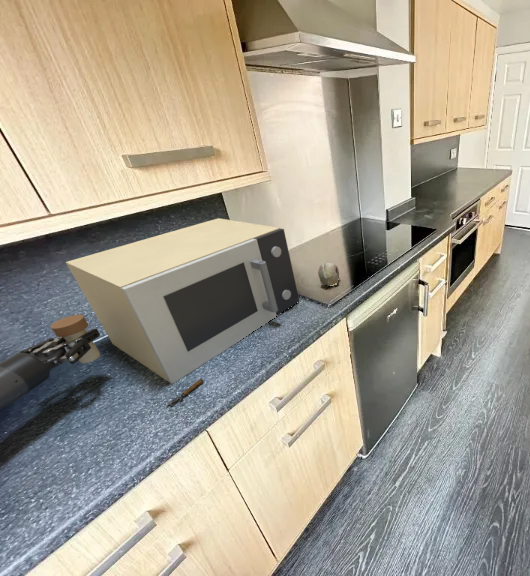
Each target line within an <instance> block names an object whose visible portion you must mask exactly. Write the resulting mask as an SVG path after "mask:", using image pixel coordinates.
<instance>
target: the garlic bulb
mask: <svg viewBox="0 0 530 576" xmlns="http://www.w3.org/2000/svg"><path fill="white" fill-rule="evenodd" d="M317 275H318V278H319V283H320V285H321V286H325V285H327V286H326V287H328V286H330V285H333V284H335V283H338V284H339V282H338V279H339V280H340V270H339V268H338V265H336V264H335V263H333V262H328V261H323V262H322V263H321V264H320V266H319V268H318V271H317Z"/></svg>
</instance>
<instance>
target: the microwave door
mask: <svg viewBox="0 0 530 576" xmlns="http://www.w3.org/2000/svg"><path fill="white" fill-rule="evenodd" d="M121 289H122V291H123V293H124V295H125V297H126V299H127V301H128V303H129V305H130V307H131V309H132V310H133V312H134V314H135V316H136V318H137V320H138V322H139V324H140V326H141V328H142V330H143V332H144V334H145V336H146V338H147V340H148V342H149V344H150V346H151V348H152V350H153V352H154V354H155V356H156V358H157V360H158V362H159V364H160V365H161V367H162V369H163V371H164V373H165V375H166V377H167V379H168V381H169V382H168V381H167V382H168V383H170V384H171V385H173V384H174V383H176V382H178V381H179V380H181V379H182V378H184V377H186V376H187V375H189V374H190V373H192V372H194V371H195V370H196V369H198V368H200V367H202V366H203V365H205V364H206V363H208V362H209V361H211V360H213V359H214V358H216V357H217V356H218V355H220V354H221V353H223V352H225V351H227V350H229V349H230V348H231V347H233V346H234V345H236V344H238V343H239V342H240V340H241V341H242V340H244V339H245V338H247V337H248V335H249V334H250V335H252V334H253V333H254V332H253V331H255V330H256V329H258V328H260V327H261V326H263V325H264V324H266V323H267V322H269V321H270V320H272V319H273V318H275V317H276V316H277V315H276V312H277V311H278V308H277V304H276V300H275V296H274V292H273V288H272V284H271V280H270V277H269V273H268V269H267V265H266V262H265V261H262V258H261V254H260V250H259V246H258V242H257V239H251V240H248V241H246V242H243V243H240V244H238V245H235V246H232V247H230V248H227V249H224V250H221V251H219V252H216V253H213V254H211V255H208V256H205V257H203V258H200V259H197V260H195V261H192V262H189V263H187V264H184V265H181V266H178V267H176V268H173V269H170V270H168V271H165V272H162V273H160V274H157V275H154V276H152V277H149V278H146V279H143V280H141V281H138V282H135V283H133V284H130V285H127V286H125V287H122V288H121ZM277 317H278V316H277ZM275 319H276V318H275ZM272 321H273V320H272ZM269 323H270V322H269ZM267 324H268V323H267ZM267 324H266V325H267ZM264 326H265V325H264ZM264 326H263V327H264ZM261 328H262V327H261ZM261 328H260V329H261ZM258 330H259V329H258ZM256 331H257V330H256ZM256 331H255V332H256ZM252 332H253V333H252ZM251 333H252V334H251ZM250 335H249V336H250ZM246 336H247V337H246ZM243 338H244V339H243ZM237 342H238V343H237Z"/></svg>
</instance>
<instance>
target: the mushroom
mask: <svg viewBox="0 0 530 576" xmlns="http://www.w3.org/2000/svg"><path fill="white" fill-rule="evenodd" d="M88 326H89V323H88V321H87V319H86V318H85V316H84V315H83V314H74V315H69V316H66V317H63V318H60V319H58V320H56V321H54V322H53V323H52V324H50V329H51V330H52V332H53V333H54V335H55V336H56V338H58V337H64V339H65V340H66V342H71V341H73V340H75V339H77V338H79V337H80V336H82V335H84V334H85V333H87V332H88V331H87V328H88ZM76 344H77V343H76ZM76 344H74V345H73V347H74V346H75V345H76ZM89 345H90V347H91V349H90V350H89V351H88V352H87V353H86V354H85V355H84V356H83V357H82V358H81V359H80V360H79V361H78V362H79V363H80V364H88V363H91V362H94V361H96V360H97V359H99V358H100V357H101V353H100V352H101V351H99V349H98V347H97V345H96V344H95V342H94V340H93V341H91V342H90V343H89Z"/></svg>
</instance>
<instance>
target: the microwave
mask: <svg viewBox="0 0 530 576" xmlns="http://www.w3.org/2000/svg"><path fill="white" fill-rule="evenodd" d="M251 239H257V242H258V246H259V250H260V254H261V258H262V261H265V262H266V265H267V269H268V273H269V277H270V280H271V284H272V288H273V292H274V296H275V300H276V304H277V308H278V311H277V312H276V315H279V314H280V313H282V312H283V311H285V310H286V309H288V308H290V307H291V306H293V305H294V304H296V303H297V302H300V297H299V293H298V288H297V284H296V279H295V274H294V270H293V265H292V261H291V256H290V251H289V246H288V242H287V238H286V233H285V229H284V228H281V227H277V226H270V225H265V224H257V223H251V222H245V221H239V220H231V219H226V218H220V217H219V218H214V219H211V220H208V221H204V222H200V223H197V224H194V225H190V226H187V227H183V228H180V229H176V230H173V231H169V232H166V233H162V234H159V235H155V236H151V237H147V238H145V239H141V240H137V241H134V242H131V243H126V244H123V245H120V246H117V247H112V248H110V249H106V250H102V251H100V252H96V253H93V254H88V255H86V256H82V257H78V258H75V259H72V260H68V261H65V264H66V265H67V267H68V269H69V271H70V273H71V274H72V276H73V278H74V279H75V281H76V284H78V287H79V288H80V291H82V294H83V295H84V297H85V298H86V300H87V302H88V304H89V306H90V308H91V309H92V311H93V313H94V314H95V316H96V318H97V319H98V321H99V323H100V325H101V326H102V328H103V330H104V332H105V333H106V335H107V337H108V338H109V340H110V342H111V344H112V345H113V346H115V347H116V348H118V349H119V350H120V351H121V352H123V353H125V354H127V356H130V357H131V358H132V359H134V360H136V362H139V363H140V364H141V365H143V366H144V367H146V368H147V369H149V370H150V371H152V372H153V373H155V374H156V375H158V377H160V378H162V379H163V380H165V381H167V382H168V383H170V382H169V381H168V379H167V377H166V375H165V373H164V371H163V369H162V367H161V365H160V364H159V362H158V360H157V358H156V356H155V354H154V352H153V350H152V348H151V346H150V344H149V342H148V340H147V338H146V336H145V334H144V332H143V330H142V328H141V326H140V324H139V322H138V320H137V318H136V316H135V314H134V312H133V310H132V309H131V307H130V305H129V303H128V301H127V299H126V297H125V295H124V293H123V291H122V289H121V288H122V287H125V286H127V285H130V284H133V283H135V282H138V281H141V280H143V279H146V278H149V277H152V276H154V275H157V274H160V273H162V272H165V271H168V270H170V269H173V268H176V267H178V266H181V265H184V264H187V263H189V262H192V261H195V260H197V259H200V258H203V257H205V256H208V255H211V254H213V253H216V252H219V251H221V250H224V249H227V248H230V247H232V246H235V245H238V244H240V243H243V242H246V241H248V240H251ZM296 305H297V304H296ZM293 307H294V306H293ZM290 309H291V308H290ZM285 312H286V311H285ZM282 314H283V313H282ZM279 316H280V315H279Z"/></svg>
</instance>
